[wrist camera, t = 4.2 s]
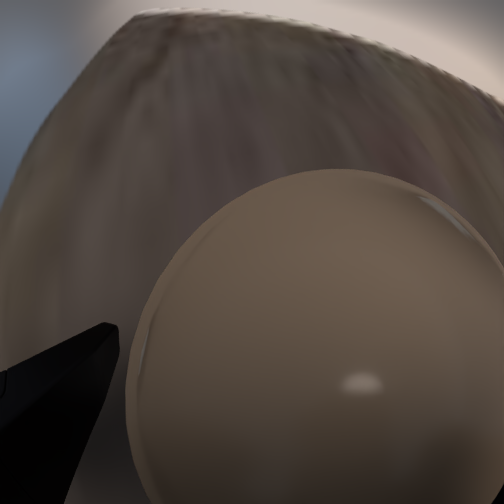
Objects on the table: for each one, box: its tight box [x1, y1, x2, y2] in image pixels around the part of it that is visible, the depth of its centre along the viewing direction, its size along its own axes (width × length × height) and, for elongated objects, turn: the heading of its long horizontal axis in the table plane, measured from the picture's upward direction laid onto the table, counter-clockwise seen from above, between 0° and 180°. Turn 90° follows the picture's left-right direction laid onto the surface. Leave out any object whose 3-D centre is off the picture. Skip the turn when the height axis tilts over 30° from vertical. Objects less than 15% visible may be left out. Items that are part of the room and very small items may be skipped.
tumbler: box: [125, 169, 504, 504], centre depth 8 cm, size 5×5×13 cm
